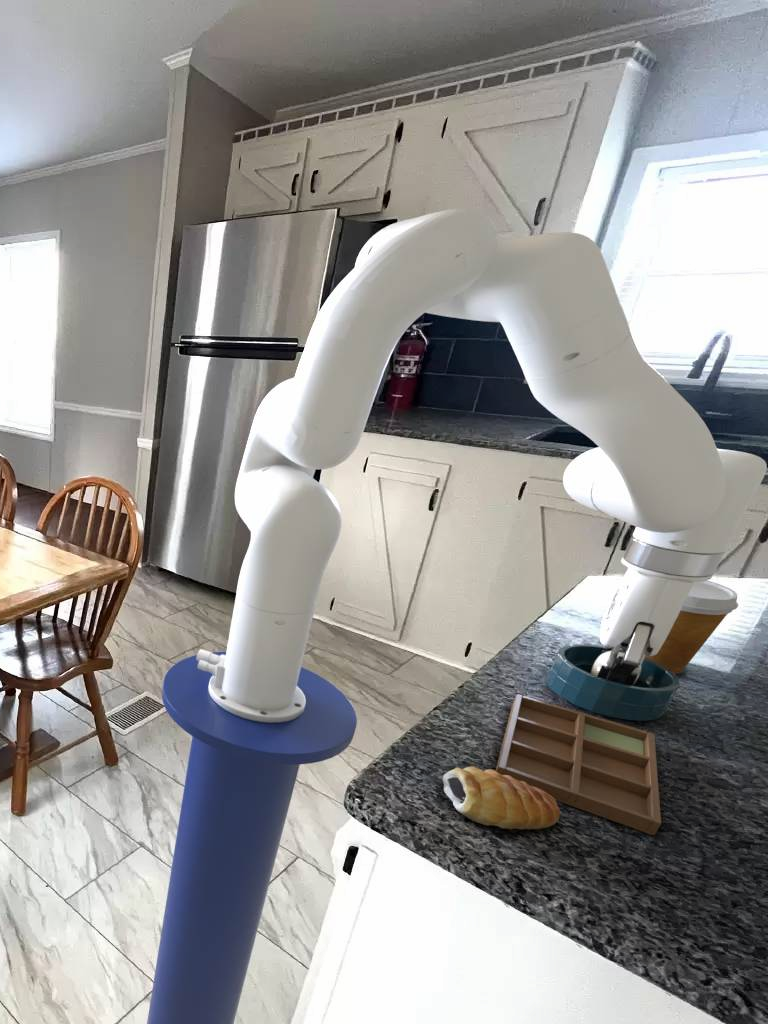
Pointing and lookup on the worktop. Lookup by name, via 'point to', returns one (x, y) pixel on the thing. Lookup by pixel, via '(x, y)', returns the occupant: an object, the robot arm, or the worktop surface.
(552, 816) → the pastry
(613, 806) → the compartment tray
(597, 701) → the bowl
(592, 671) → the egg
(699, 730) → the worktop surface
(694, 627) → the disposable coffee cup
